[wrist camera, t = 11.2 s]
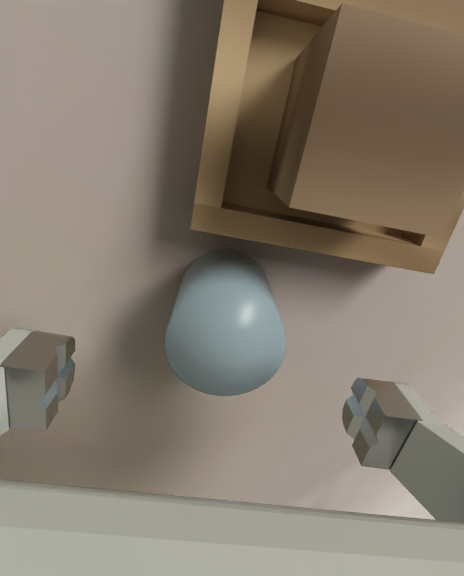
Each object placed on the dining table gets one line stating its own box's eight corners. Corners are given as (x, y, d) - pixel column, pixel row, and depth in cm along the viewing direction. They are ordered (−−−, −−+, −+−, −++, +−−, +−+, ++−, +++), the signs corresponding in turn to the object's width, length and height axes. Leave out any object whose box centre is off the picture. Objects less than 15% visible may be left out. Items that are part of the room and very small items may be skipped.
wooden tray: (401, 254, 16) (433, 274, 14) (195, 215, 15) (190, 229, 13) (601, -244, 10) (722, -369, 8) (282, -361, 9) (304, -547, 7)
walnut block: (371, 208, 14) (442, 238, 10) (266, 186, 14) (289, 207, 9) (413, 86, 12) (525, 52, 8) (296, 58, 12) (342, 2, 7)
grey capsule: (257, 336, 18) (270, 402, 13) (175, 323, 17) (158, 387, 13) (278, 258, 16) (300, 303, 12) (187, 242, 16) (173, 281, 11)
